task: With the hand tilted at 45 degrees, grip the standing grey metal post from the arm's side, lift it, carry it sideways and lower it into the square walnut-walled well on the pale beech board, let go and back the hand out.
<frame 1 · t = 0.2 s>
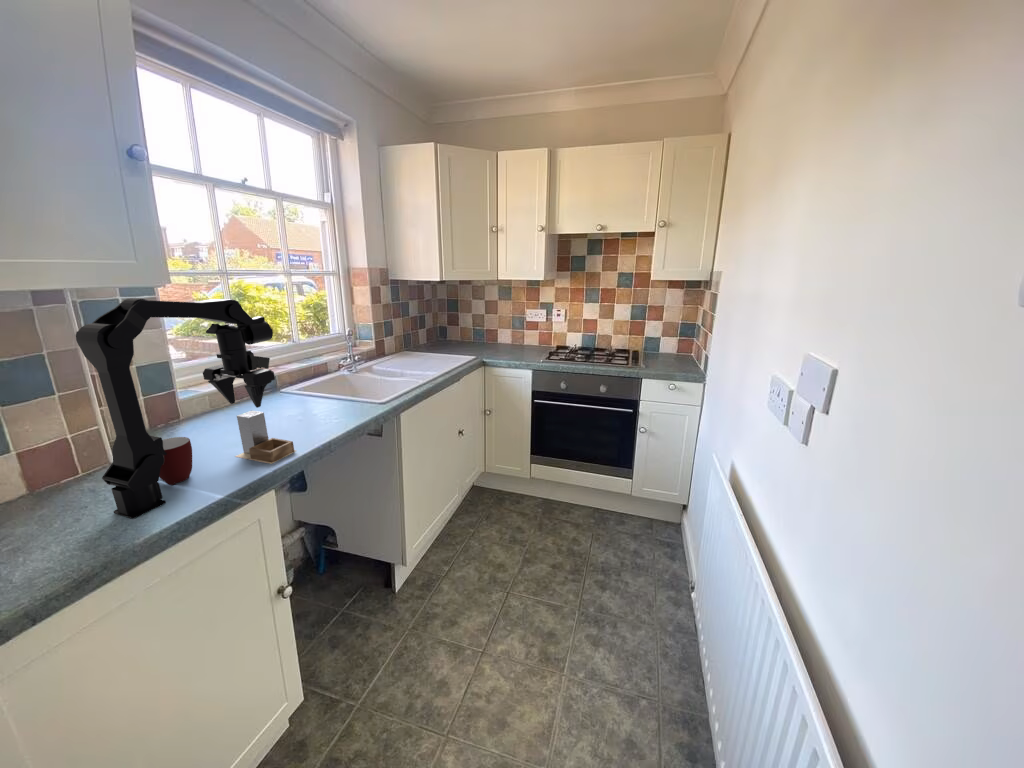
hand: (245, 405, 110), 15 cm above the countertop, tool pointing down, fingers open, 9 cm apart
mug: (175, 480, 101), on the countertop
stand: (266, 455, 114), on the countertop
post: (257, 450, 115), point 1 cm above the countertop, touching stand
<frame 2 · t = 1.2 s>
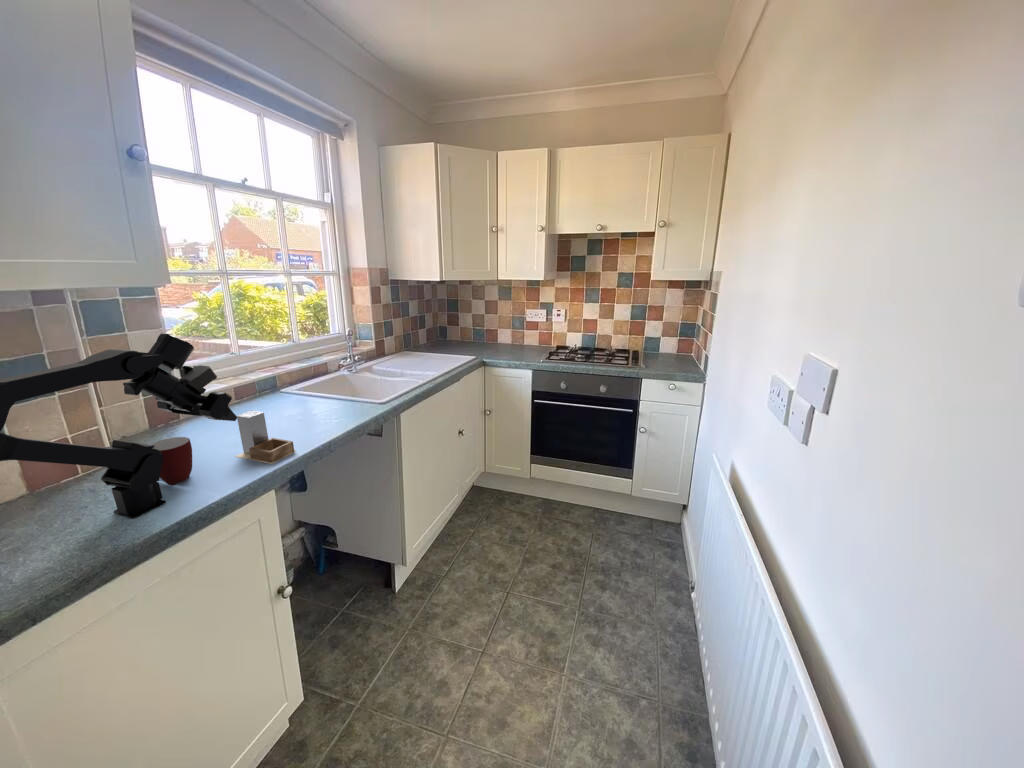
hand: (222, 417, 105), 13 cm above the countertop, tool tilted 45°, fingers open, 9 cm apart
nothing on the countertop moved.
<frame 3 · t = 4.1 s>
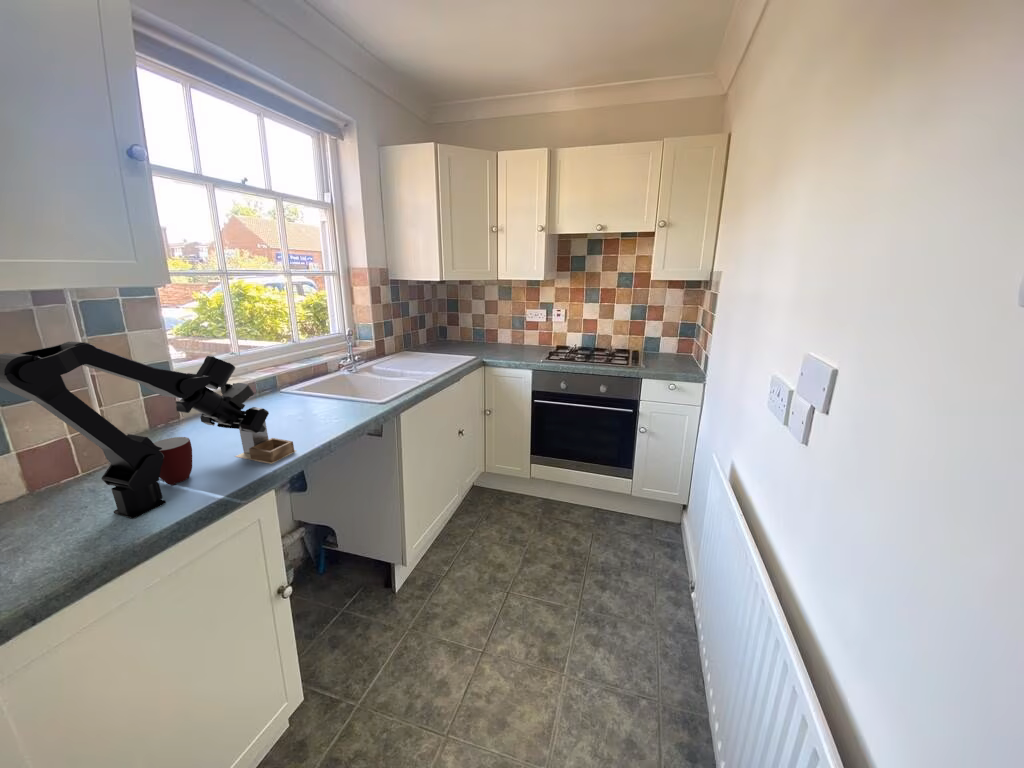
hand: (258, 429, 115), 7 cm above the countertop, tool tilted 45°, fingers closed on post, 4 cm apart
post: (257, 450, 115), point 1 cm above the countertop, touching gripper, stand
everything else where it was.
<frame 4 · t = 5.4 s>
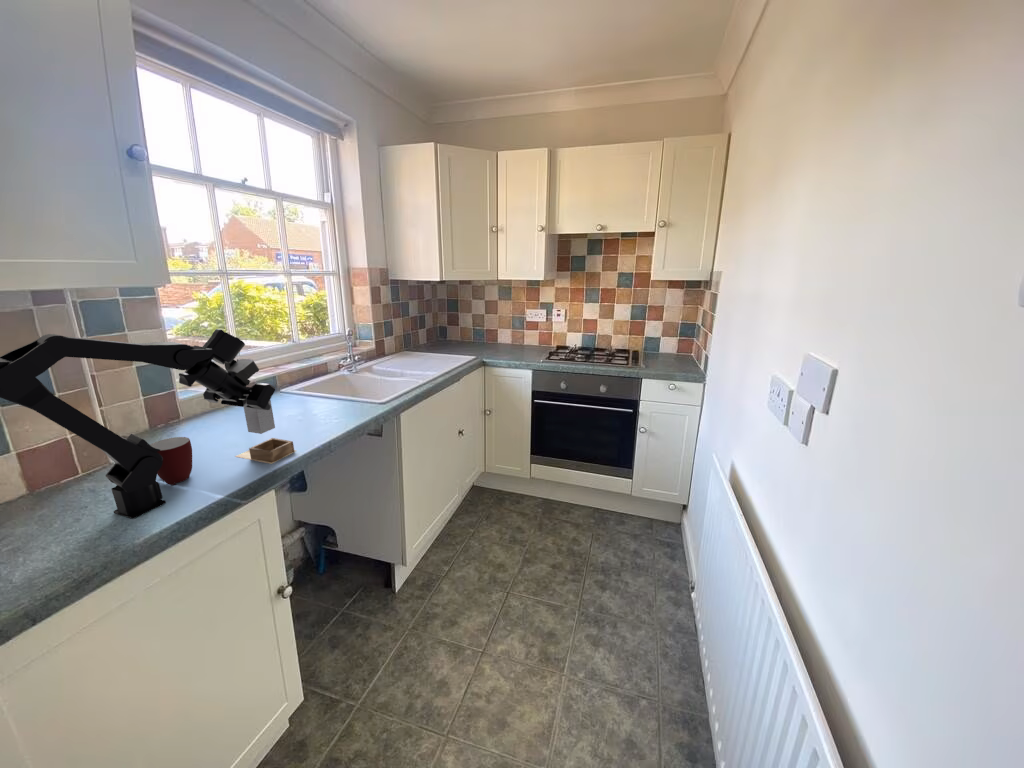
hand: (262, 407, 111), 14 cm above the countertop, tool tilted 45°, fingers closed on post, 4 cm apart
post: (261, 429, 112), point 8 cm above the countertop, touching gripper
everything else where it was.
when the fingers open (8 cm above the countertop, at t = 7.1 s): post drops 2 cm, resting on stand.
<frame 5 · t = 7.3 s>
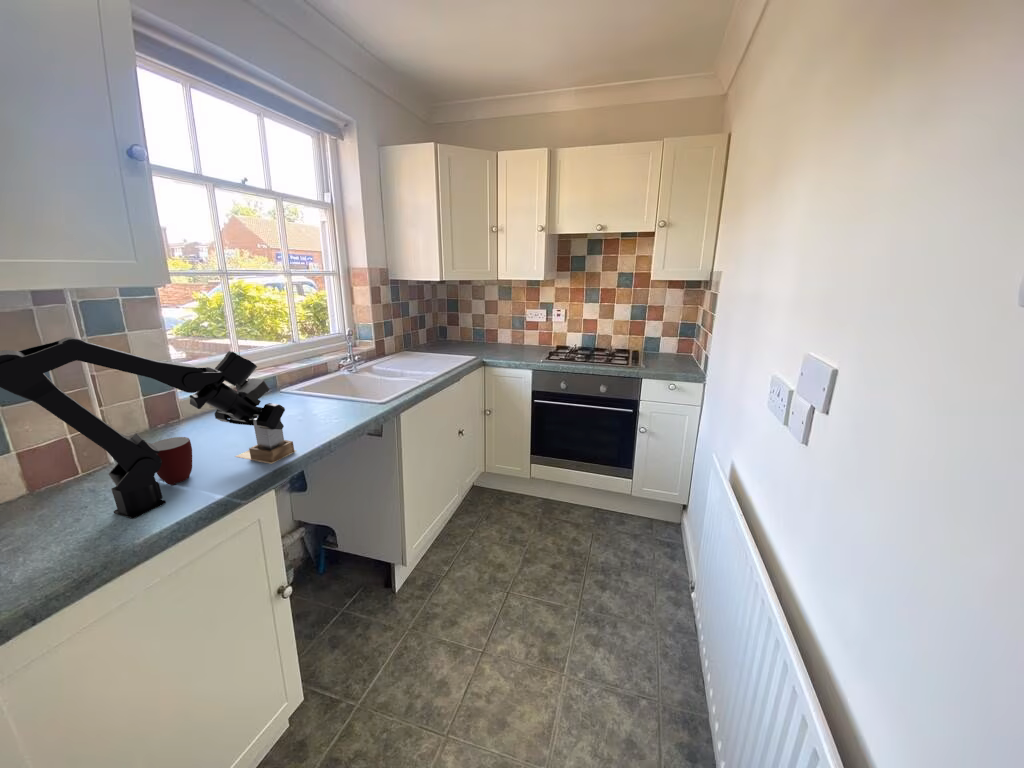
hand: (272, 426, 112), 9 cm above the countertop, tool tilted 45°, fingers open, 7 cm apart
post: (273, 454, 113), point 1 cm above the countertop, touching stand
everything else where it was.
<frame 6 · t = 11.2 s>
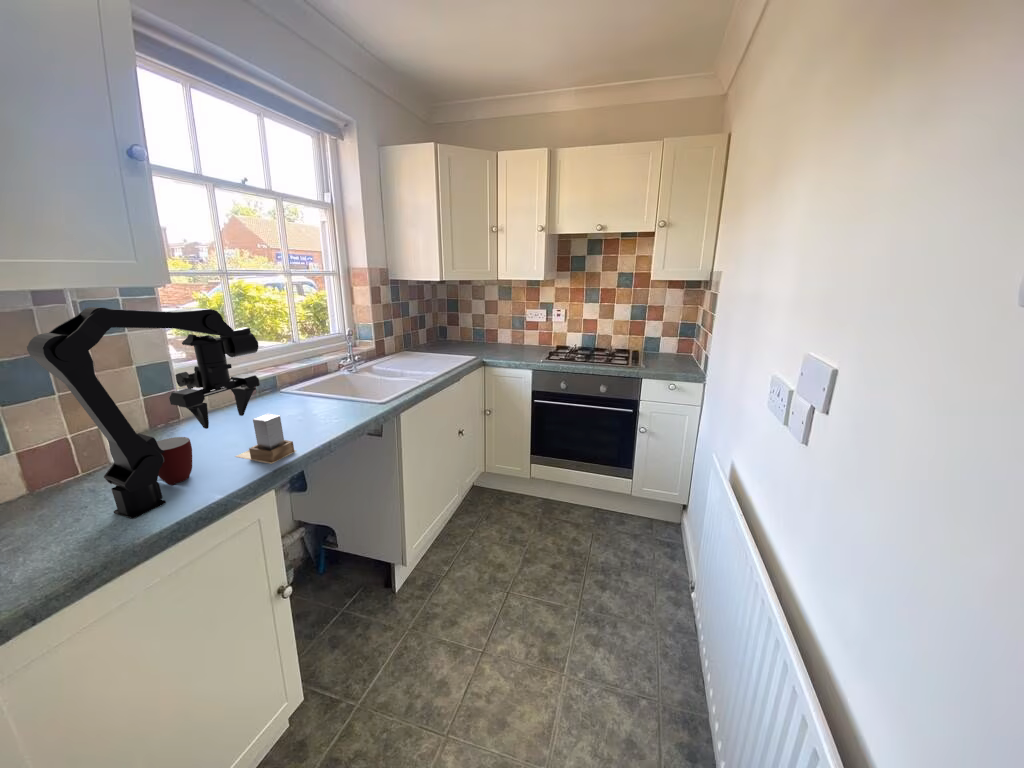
hand: (224, 421, 103), 13 cm above the countertop, tool pointing down, fingers open, 9 cm apart
nothing on the countertop moved.
at the end: post 0.0 cm from the target spot on the stand, point 0.6 cm above the stand's base; post tilted 0°; the gripper is holding nothing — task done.
